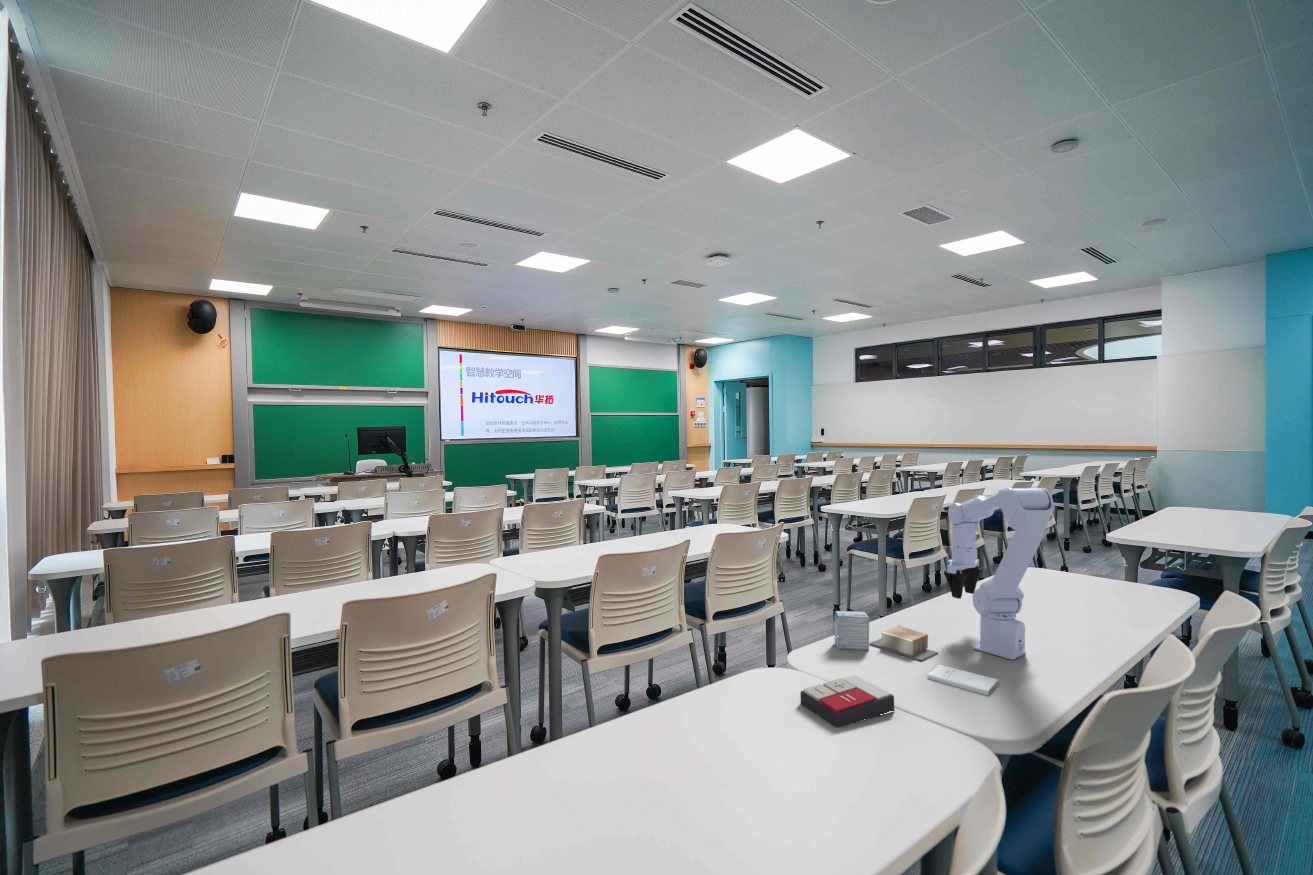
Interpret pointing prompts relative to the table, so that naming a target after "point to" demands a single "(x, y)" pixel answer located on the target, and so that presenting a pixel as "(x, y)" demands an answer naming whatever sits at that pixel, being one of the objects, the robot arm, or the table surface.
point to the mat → (917, 656)
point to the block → (905, 640)
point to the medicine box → (852, 630)
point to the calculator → (847, 700)
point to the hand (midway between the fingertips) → (963, 595)
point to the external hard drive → (963, 679)
